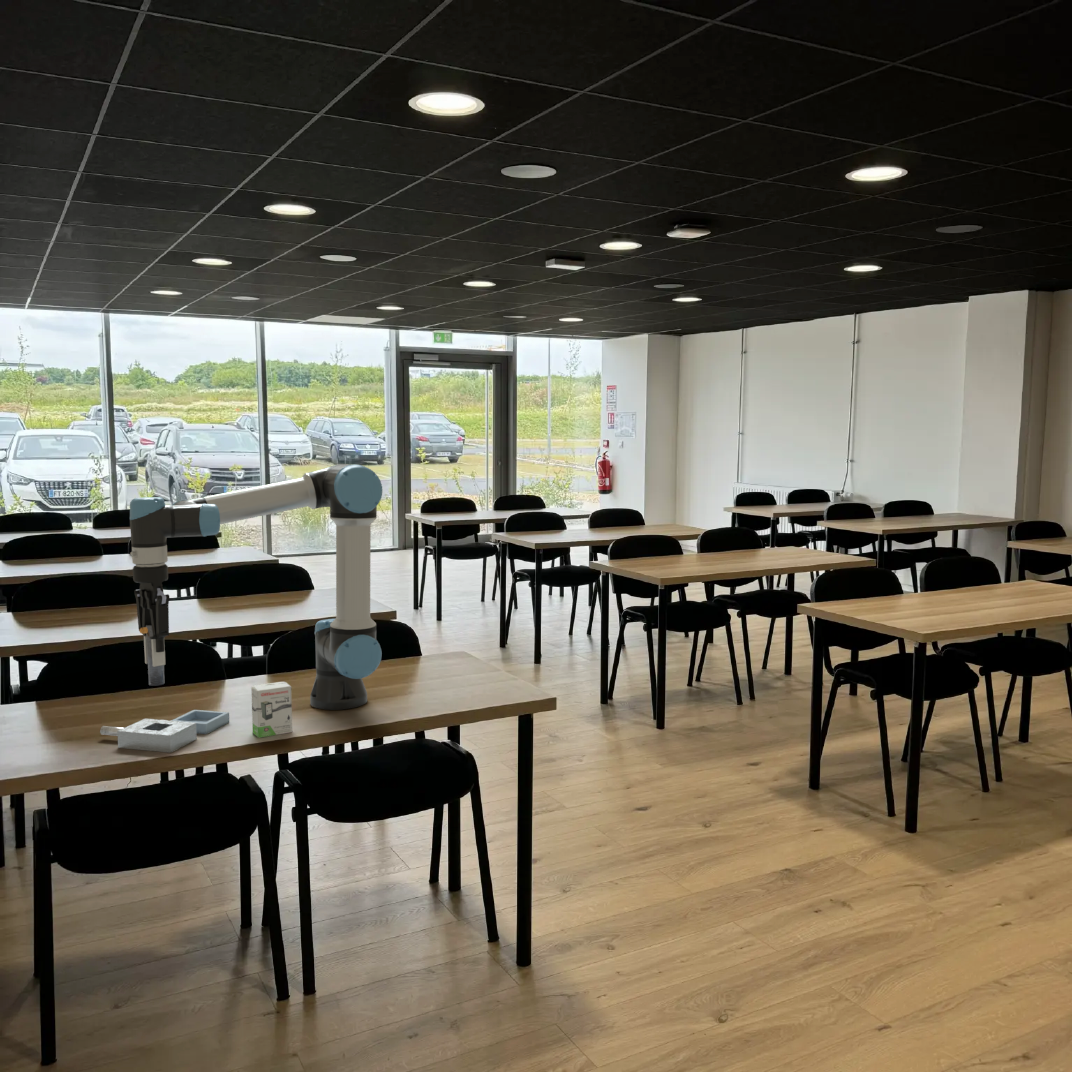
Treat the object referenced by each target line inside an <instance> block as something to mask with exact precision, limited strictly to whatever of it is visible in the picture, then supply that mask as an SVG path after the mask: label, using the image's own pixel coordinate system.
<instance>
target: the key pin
mask: <svg viewBox="0 0 1072 1072" xmlns="http://www.w3.org/2000/svg"><path fill="white" fill-rule="evenodd" d="M138 631H139V633H140V634H141V635H143V634H144V633H146V639H147V657H148V664H147V669H148V670H147V674H148V685H149V686H152V687H153V686H154V687H155V686H162V685H164V684H165V665H161V666H155V667H154V666H153V662H152V643H151V639H150V637H153V631H152V624H148V625H146V627H143V628H140V630H139V629H138Z"/></svg>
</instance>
